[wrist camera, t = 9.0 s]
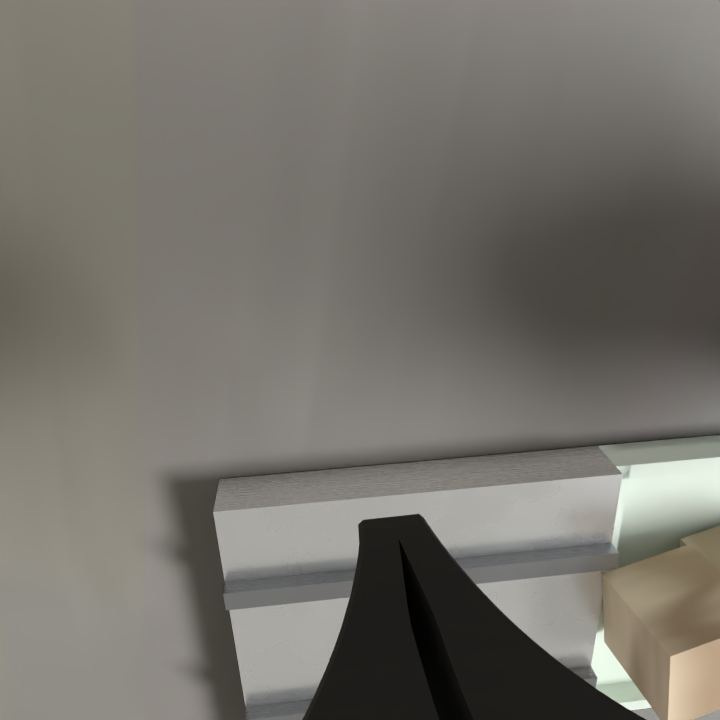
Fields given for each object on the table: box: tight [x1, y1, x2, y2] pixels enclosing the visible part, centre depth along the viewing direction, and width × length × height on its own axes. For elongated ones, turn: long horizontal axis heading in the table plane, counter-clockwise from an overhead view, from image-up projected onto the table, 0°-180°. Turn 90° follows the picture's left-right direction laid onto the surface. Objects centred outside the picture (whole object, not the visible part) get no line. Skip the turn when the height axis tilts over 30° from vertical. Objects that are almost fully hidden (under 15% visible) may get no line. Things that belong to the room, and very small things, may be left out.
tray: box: [591, 435, 720, 710], centre depth 26 cm, size 9×14×2 cm, turn 2°
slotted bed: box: [213, 446, 623, 720], centre depth 25 cm, size 15×14×3 cm
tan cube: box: [602, 544, 720, 720], centre depth 23 cm, size 4×4×4 cm
